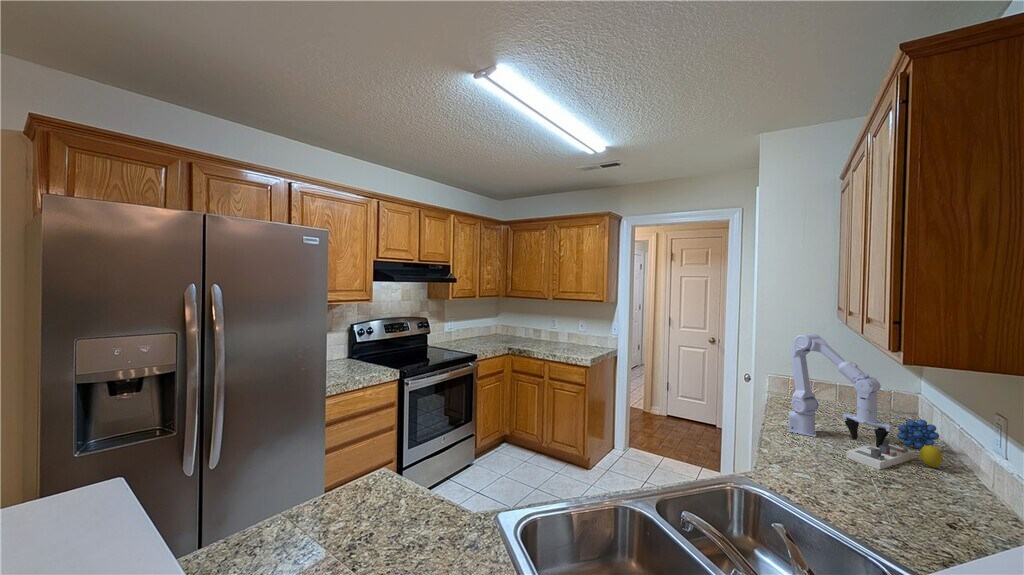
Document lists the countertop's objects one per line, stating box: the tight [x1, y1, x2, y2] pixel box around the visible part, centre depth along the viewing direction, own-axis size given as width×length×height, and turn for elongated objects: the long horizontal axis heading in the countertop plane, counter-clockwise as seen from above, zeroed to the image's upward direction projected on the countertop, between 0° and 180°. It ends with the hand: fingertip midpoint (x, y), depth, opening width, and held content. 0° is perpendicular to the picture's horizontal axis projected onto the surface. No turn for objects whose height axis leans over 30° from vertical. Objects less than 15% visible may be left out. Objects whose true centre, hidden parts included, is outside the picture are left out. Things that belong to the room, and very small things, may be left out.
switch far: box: [882, 436, 890, 446], centre depth 148 cm, size 2×2×3 cm
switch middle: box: [879, 444, 890, 454], centre depth 141 cm, size 2×2×3 cm
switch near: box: [871, 449, 881, 459], centre depth 137 cm, size 2×2×3 cm
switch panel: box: [846, 442, 915, 470], centre depth 143 cm, size 23×10×4 cm, turn 112°
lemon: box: [919, 445, 944, 468], centre depth 135 cm, size 6×6×8 cm
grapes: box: [896, 419, 940, 450], centre depth 151 cm, size 12×7×12 cm, turn 50°
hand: (866, 443), depth 146 cm, fingers open, 7 cm apart
